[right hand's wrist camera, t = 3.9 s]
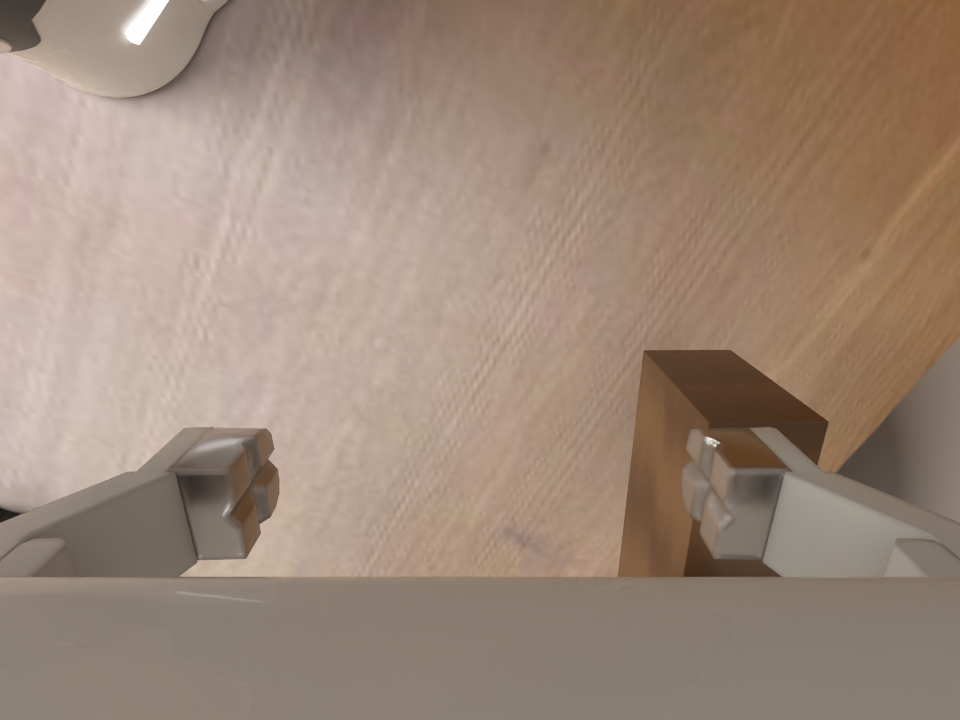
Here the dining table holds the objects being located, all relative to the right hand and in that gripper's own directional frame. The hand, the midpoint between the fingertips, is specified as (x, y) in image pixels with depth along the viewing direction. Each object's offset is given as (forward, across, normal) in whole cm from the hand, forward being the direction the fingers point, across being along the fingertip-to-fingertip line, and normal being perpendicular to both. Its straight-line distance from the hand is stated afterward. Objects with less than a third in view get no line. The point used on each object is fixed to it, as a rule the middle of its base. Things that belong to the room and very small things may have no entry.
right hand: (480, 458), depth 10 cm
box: (+23, -14, +17) cm, 32 cm away
